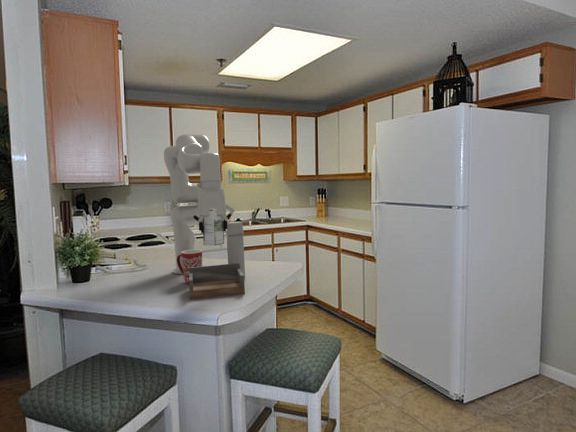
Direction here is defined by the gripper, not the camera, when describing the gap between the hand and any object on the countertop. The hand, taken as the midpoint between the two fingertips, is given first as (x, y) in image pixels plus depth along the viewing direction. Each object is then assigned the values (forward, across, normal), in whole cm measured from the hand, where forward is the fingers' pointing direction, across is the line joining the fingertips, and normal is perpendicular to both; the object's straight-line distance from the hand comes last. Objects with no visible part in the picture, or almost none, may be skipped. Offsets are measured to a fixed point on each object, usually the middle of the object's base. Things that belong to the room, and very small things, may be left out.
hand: (213, 231), depth 150 cm
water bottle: (+24, +10, +16) cm, 30 cm away
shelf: (+23, 0, 0) cm, 23 cm away
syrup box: (+5, 0, 0) cm, 5 cm away
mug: (+24, -10, +20) cm, 33 cm away
